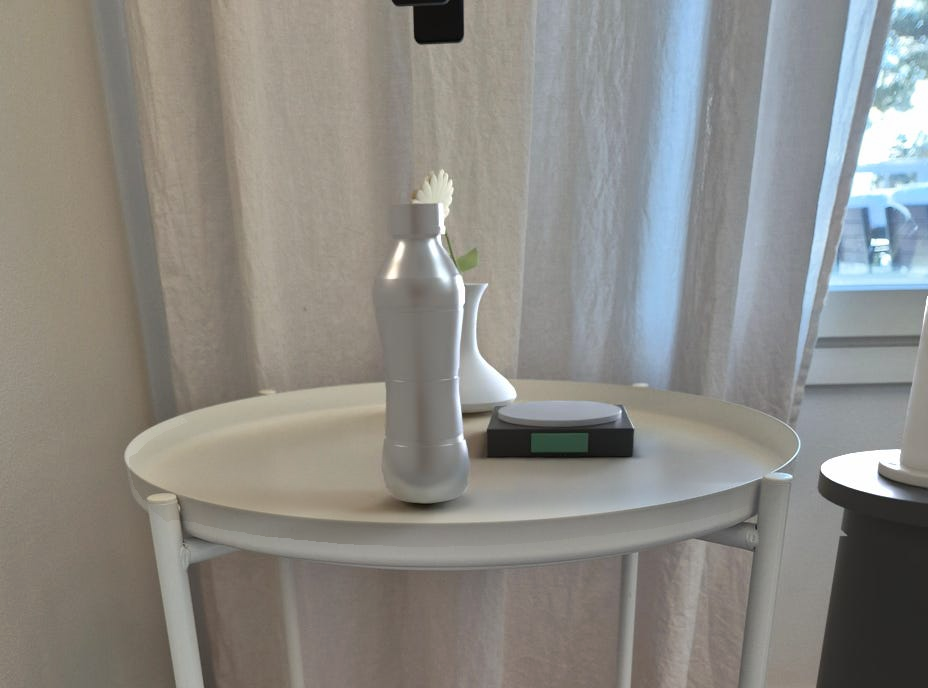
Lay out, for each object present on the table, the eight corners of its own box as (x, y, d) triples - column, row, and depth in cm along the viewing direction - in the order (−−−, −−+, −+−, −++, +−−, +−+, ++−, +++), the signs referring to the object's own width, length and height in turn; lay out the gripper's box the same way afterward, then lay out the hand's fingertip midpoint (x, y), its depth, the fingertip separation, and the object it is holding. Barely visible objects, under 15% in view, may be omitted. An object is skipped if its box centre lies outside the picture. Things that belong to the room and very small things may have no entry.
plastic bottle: (413, 518, 62) (399, 201, 54) (367, 499, 68) (348, 207, 60) (488, 503, 66) (485, 202, 58) (438, 486, 71) (429, 207, 63)
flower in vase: (476, 400, 111) (472, 175, 101) (536, 410, 102) (540, 166, 92) (388, 413, 104) (375, 172, 94) (445, 425, 95) (438, 162, 85)
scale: (622, 429, 91) (623, 398, 90) (633, 457, 78) (635, 422, 77) (495, 430, 92) (495, 399, 91) (486, 458, 80) (486, 423, 79)
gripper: (484, -512, 37) (485, -19, 44) (500, -285, 53) (500, 52, 60) (309, -493, 38) (337, -11, 45) (377, -275, 54) (390, 57, 61)
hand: (430, 25), depth 52 cm, fingers open, 9 cm apart
